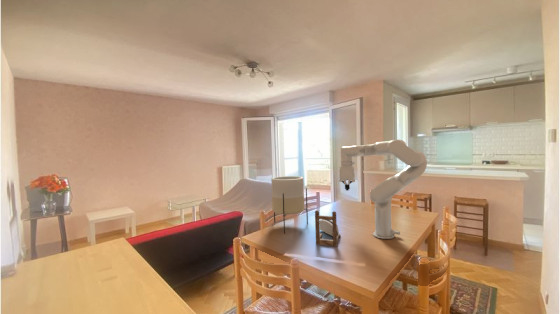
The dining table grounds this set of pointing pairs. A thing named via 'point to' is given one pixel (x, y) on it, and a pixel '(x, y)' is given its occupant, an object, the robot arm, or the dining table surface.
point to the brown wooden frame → (319, 235)
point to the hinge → (327, 227)
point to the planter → (288, 196)
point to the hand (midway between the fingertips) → (347, 190)
